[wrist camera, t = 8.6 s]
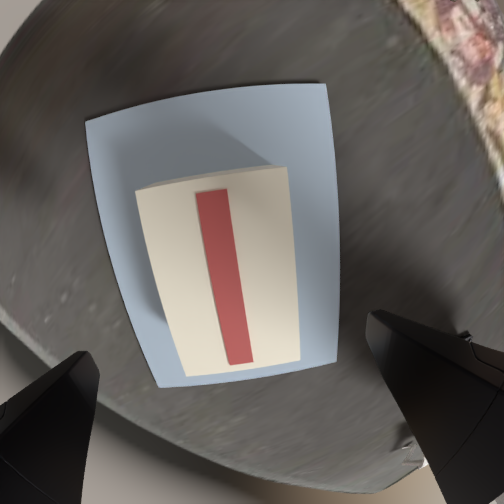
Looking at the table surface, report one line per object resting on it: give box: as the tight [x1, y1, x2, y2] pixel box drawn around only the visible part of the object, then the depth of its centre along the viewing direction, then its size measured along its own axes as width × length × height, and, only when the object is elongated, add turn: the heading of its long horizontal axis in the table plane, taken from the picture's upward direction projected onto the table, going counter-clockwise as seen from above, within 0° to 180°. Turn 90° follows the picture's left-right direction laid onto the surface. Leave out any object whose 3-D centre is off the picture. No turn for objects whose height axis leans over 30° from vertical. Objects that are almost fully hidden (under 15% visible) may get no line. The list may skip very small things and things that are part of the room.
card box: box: [135, 165, 300, 377], centre depth 14 cm, size 6×10×4 cm, turn 7°
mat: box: [85, 84, 340, 388], centre depth 15 cm, size 18×13×1 cm
